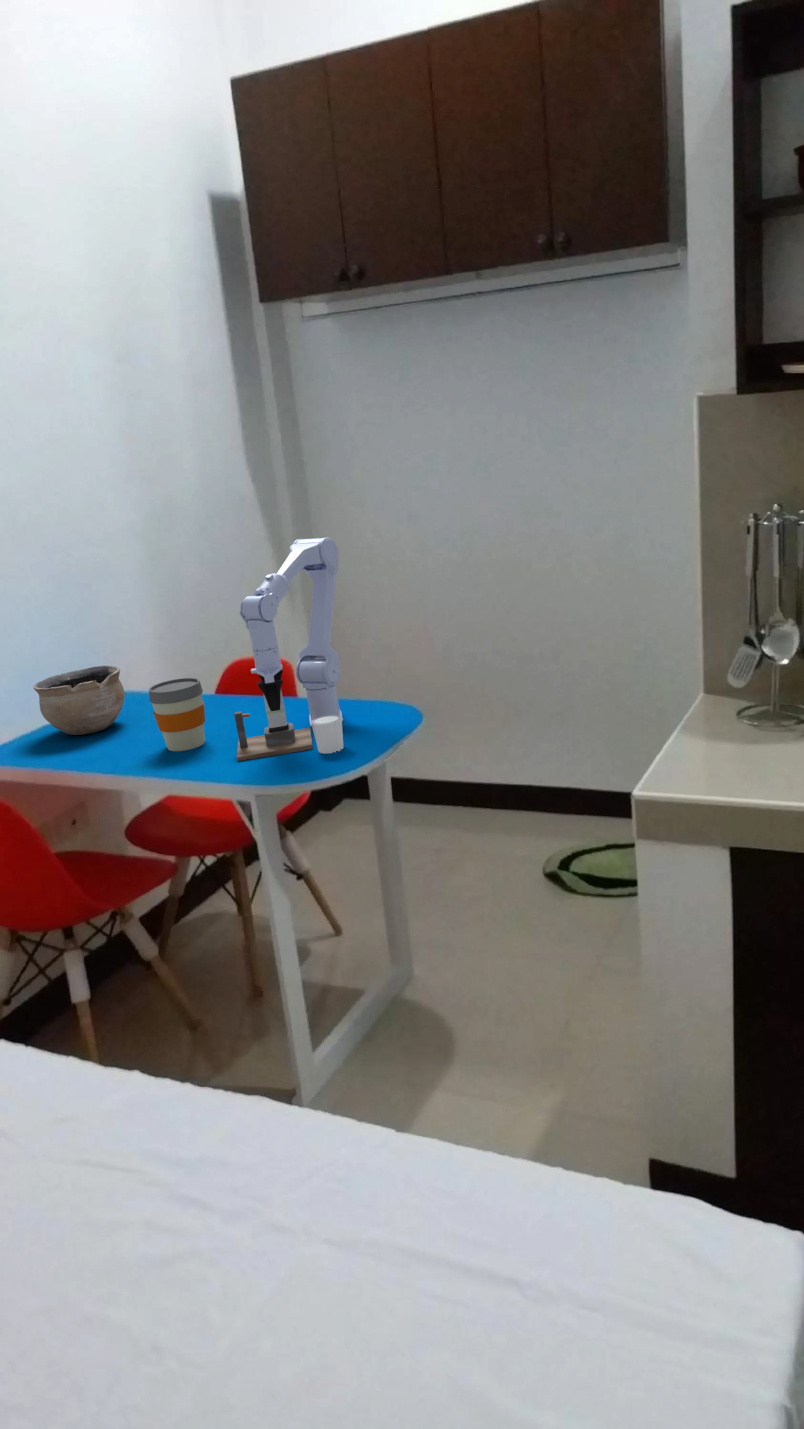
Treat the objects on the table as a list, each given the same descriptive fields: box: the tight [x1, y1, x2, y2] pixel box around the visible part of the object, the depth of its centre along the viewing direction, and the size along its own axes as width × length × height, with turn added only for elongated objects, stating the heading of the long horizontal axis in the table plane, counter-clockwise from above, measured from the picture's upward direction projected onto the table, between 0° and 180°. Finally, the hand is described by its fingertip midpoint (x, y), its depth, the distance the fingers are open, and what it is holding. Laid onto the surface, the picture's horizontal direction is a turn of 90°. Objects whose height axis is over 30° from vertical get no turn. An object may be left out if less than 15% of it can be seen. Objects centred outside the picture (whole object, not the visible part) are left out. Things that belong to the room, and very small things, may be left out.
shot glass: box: [311, 715, 344, 755], centre depth 241 cm, size 7×7×7 cm
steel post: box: [262, 690, 288, 728], centre depth 248 cm, size 4×4×8 cm
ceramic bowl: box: [32, 665, 126, 736], centre depth 285 cm, size 22×22×15 cm
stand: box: [234, 711, 314, 762], centre depth 249 cm, size 14×17×9 cm
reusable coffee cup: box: [148, 677, 206, 752], centre depth 259 cm, size 13×13×15 cm
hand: (275, 705), depth 248 cm, fingers open, 7 cm apart
